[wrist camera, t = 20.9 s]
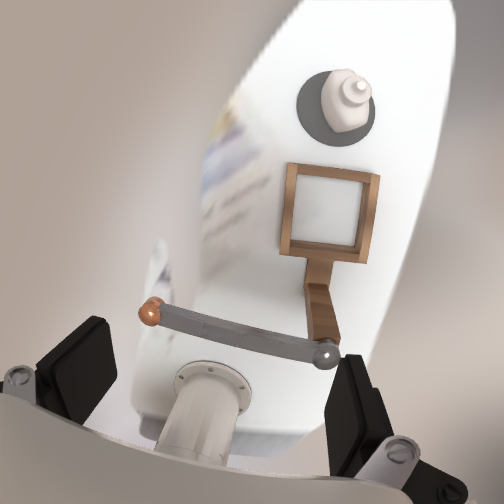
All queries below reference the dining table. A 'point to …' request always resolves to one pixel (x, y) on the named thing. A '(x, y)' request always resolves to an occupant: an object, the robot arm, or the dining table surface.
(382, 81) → the dining table surface
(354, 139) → the mat
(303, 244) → the wooden frame with post
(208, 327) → the ball-tipped grey rod
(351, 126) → the eye dropper bottle
